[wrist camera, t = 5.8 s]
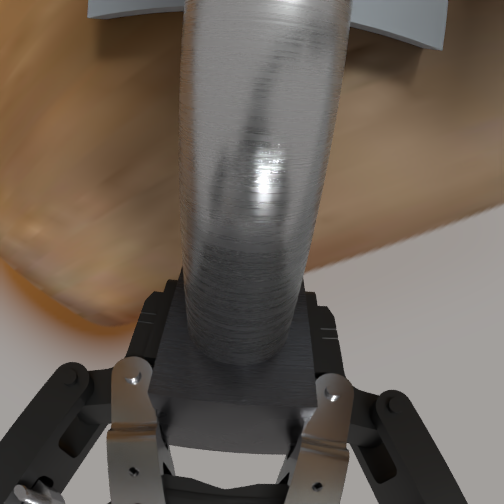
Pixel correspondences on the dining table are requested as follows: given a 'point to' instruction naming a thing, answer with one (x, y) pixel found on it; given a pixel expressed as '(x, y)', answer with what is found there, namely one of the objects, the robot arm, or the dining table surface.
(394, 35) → the bracket
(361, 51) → the dining table surface
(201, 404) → the shaft
